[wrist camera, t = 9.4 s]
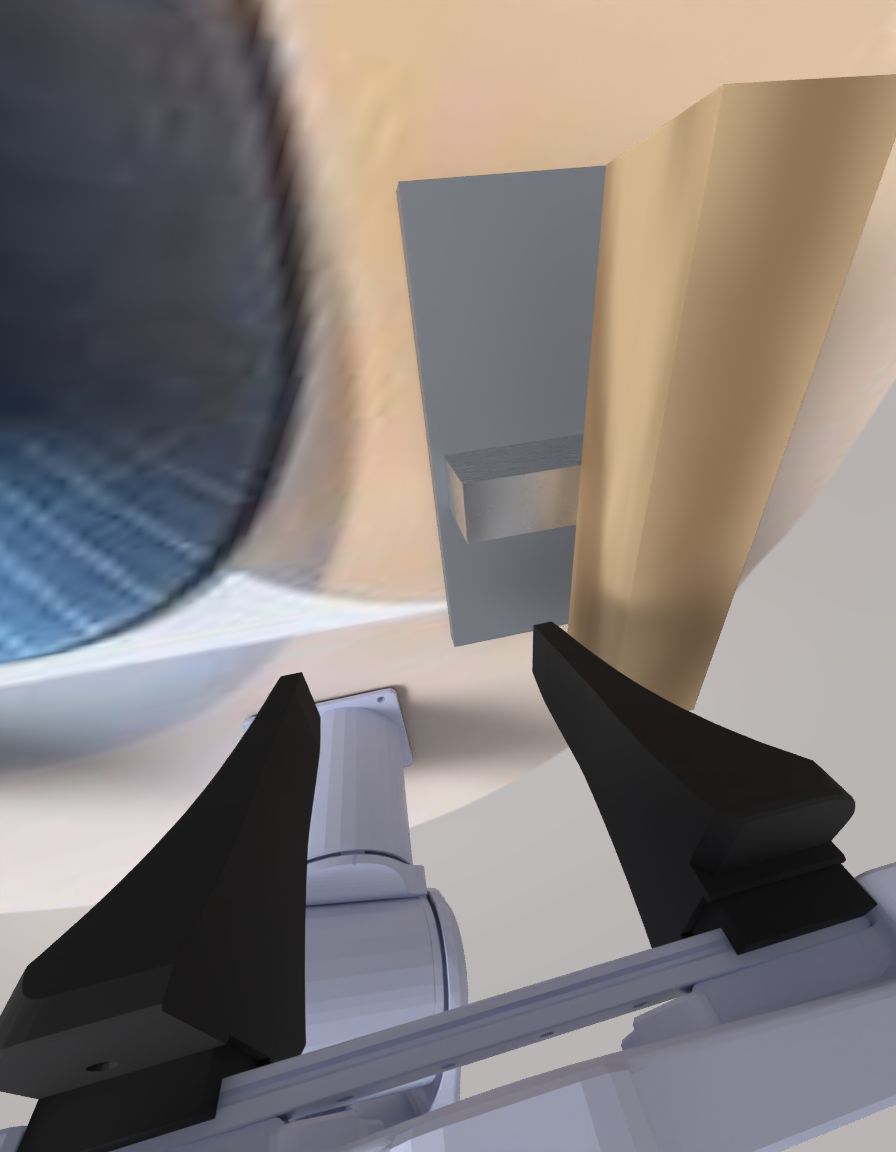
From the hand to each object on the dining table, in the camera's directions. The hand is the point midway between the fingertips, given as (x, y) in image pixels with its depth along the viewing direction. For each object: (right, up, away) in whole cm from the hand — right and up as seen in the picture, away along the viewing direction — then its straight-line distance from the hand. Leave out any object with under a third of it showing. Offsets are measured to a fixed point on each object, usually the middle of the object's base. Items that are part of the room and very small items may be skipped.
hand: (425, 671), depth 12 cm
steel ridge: (+7, +9, +7) cm, 13 cm away
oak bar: (+8, +6, +3) cm, 10 cm away
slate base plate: (+7, +9, +7) cm, 13 cm away
